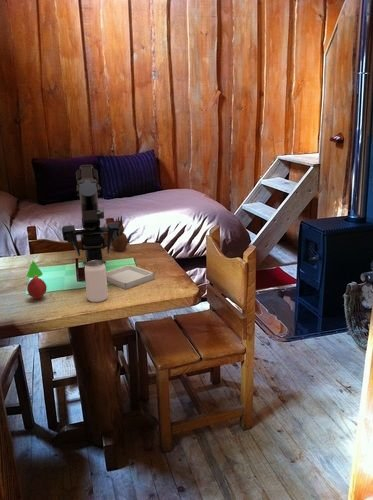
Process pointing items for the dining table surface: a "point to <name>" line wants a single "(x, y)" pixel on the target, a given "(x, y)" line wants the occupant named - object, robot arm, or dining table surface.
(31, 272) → the green pyramid
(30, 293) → the red rounded piece
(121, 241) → the brown rounded spiky piece
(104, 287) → the can
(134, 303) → the dining table surface
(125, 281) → the tray
